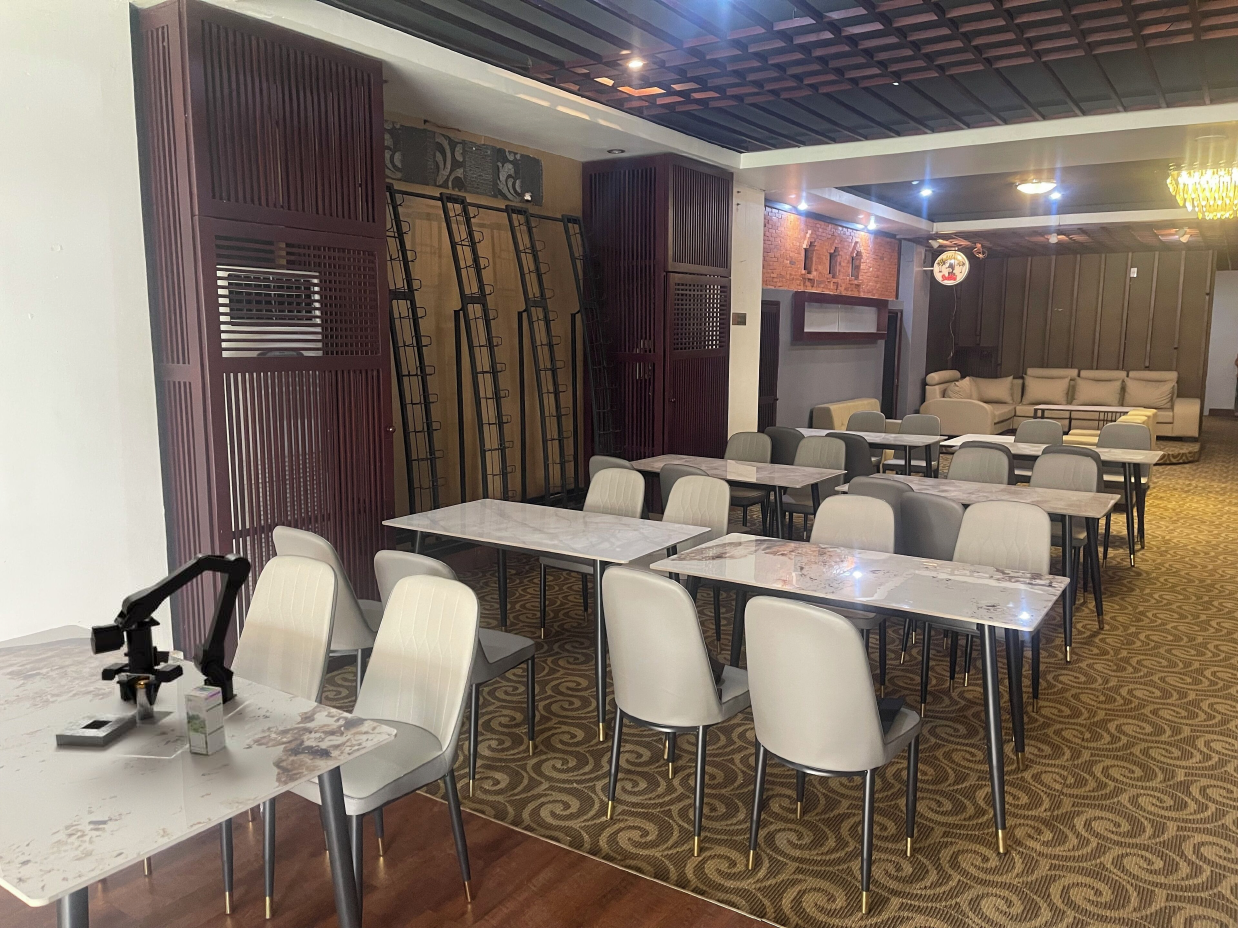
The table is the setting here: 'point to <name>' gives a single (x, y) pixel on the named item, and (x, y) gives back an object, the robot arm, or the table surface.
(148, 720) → the mat
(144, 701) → the silver copper cylinder
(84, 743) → the block
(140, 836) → the table surface
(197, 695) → the syrup box
